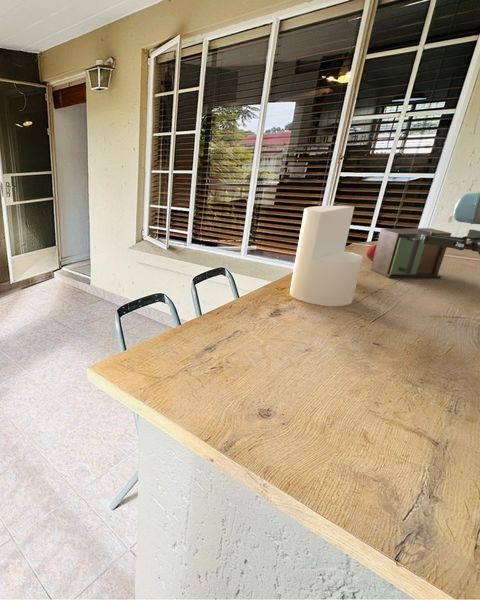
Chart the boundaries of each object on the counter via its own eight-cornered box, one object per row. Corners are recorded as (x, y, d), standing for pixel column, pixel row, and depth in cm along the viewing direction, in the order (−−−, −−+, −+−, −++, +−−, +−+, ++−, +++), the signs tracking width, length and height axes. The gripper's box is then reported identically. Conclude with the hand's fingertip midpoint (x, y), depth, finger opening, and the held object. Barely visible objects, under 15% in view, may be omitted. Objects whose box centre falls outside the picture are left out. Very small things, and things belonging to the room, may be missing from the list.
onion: (362, 261, 149) (367, 242, 146) (366, 258, 152) (370, 240, 149) (379, 263, 144) (384, 244, 142) (383, 261, 148) (388, 242, 145)
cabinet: (440, 278, 124) (455, 233, 119) (389, 278, 127) (401, 234, 122) (417, 269, 135) (429, 228, 129) (370, 269, 138) (380, 229, 132)
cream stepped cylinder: (278, 294, 118) (292, 209, 108) (309, 284, 125) (325, 204, 115) (332, 310, 104) (354, 214, 94) (364, 298, 111) (387, 208, 101)
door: (425, 278, 121) (438, 239, 117) (399, 278, 123) (410, 240, 118) (414, 274, 126) (425, 236, 122) (389, 273, 128) (399, 236, 123)
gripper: (446, 263, 92) (394, 246, 112) (562, 263, 88) (486, 245, 107) (456, 235, 89) (400, 222, 109) (576, 234, 85) (496, 221, 104)
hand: (443, 234), depth 108 cm, fingers open, 13 cm apart
